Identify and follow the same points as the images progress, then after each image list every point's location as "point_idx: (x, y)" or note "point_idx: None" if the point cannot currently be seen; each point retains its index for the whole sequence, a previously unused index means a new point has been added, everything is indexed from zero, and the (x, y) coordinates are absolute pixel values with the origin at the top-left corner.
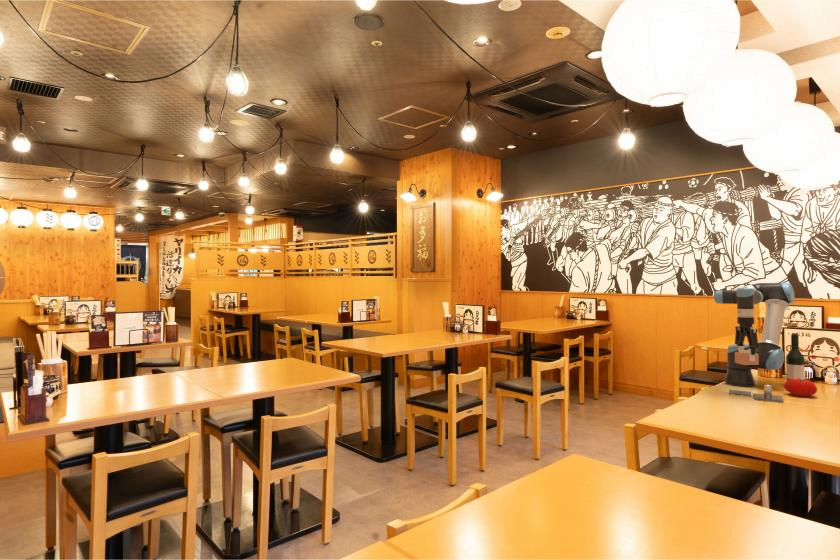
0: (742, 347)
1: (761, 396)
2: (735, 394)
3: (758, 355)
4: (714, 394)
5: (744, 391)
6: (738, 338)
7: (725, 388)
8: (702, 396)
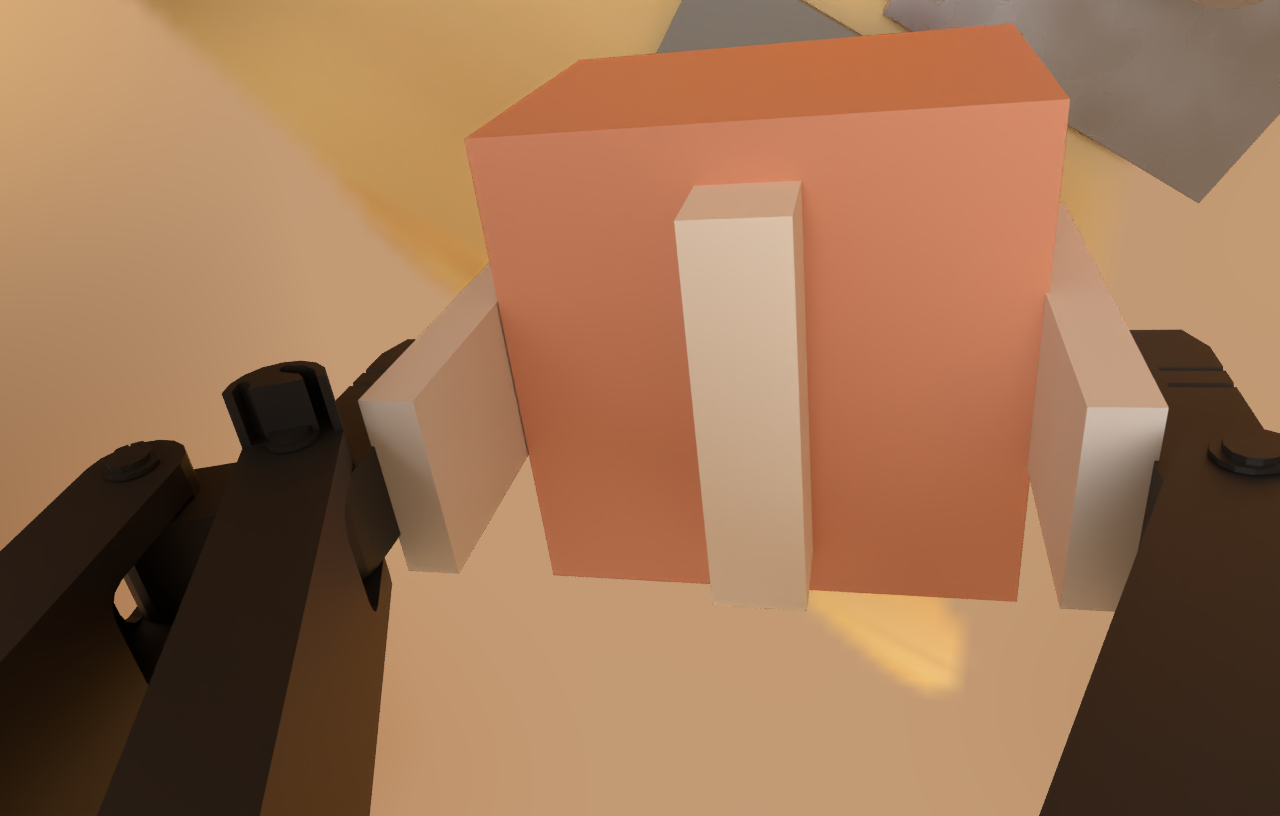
0: (446, 435)
1: (1127, 21)
2: None
3: (1059, 91)
4: None
5: (693, 44)
6: (92, 735)
7: (434, 155)
8: (906, 651)
